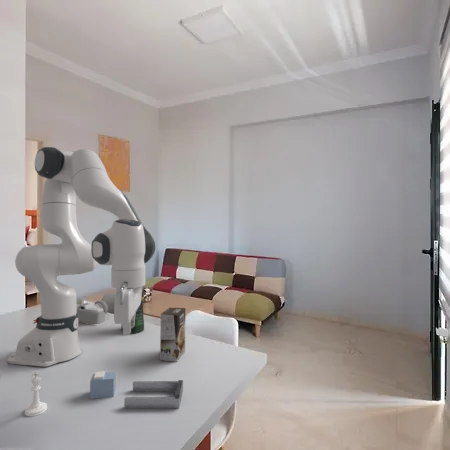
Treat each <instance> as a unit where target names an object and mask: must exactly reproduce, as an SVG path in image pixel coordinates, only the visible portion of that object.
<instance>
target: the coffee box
mask: <svg viewBox="0 0 450 450" xmlns="http://www.w3.org/2000/svg"><path fill="white" fill-rule="evenodd" d="M159 337H160V338H159V339H160V340H159V341H160V347H159V348H160V349H159V357H160V358H159V359H160V361H166V362H175V363H176V362H178V361H179V359H180V358H181V357H182V356H183V354H185V352H186V308H185V307H168V308H167V309H166V310H164V311H163V312H161V313H160V336H159Z"/></svg>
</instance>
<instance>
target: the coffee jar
mask: <svg viewBox="0 0 450 450" xmlns="http://www.w3.org/2000/svg"><path fill="white" fill-rule="evenodd" d="M144 300H145V291H144V290H143V289H142V298H141V303H140V306H139V307H138V309H137V311H136V314H135V325H134V327H133V328H131V333H130V335H133V334H139V333H142V332H143V331H144V330H145V318H144ZM120 329H121V332H123V328H122V324H121V327H120Z"/></svg>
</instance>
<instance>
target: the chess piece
mask: <svg viewBox="0 0 450 450" xmlns="http://www.w3.org/2000/svg"><path fill="white" fill-rule="evenodd" d="M31 376H32V377H33V378H31V380H30V381H31V383H32V387H31V389H30V391H31V392H33V394H32V395H33V396H32V403H31V404H29V405H28V406H26V408H25V409H24V415H25V416H27V417H35V416H39V415H42V414H43V413H45V411H47V409H48V404H47V403H46V402H43V401H40V393H39V391H40V389H41V388H42V386H41V385H40V382H41V373H40V372H38V370H35V371H34V372H33V373H32V374H31Z"/></svg>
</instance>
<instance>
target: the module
mask: <svg viewBox="0 0 450 450" xmlns="http://www.w3.org/2000/svg"><path fill="white" fill-rule="evenodd" d="M116 375H117V374H116V371H109V372H108V371H107V372H106V371H105V370H104V371H103V370H102V371H96V372H95V373H92V376H91V378H90V380H89V384H90V385H89V386H90V387H89V391H90V392H89V399H103V398H112V397H114V396H115V392H116V388H117V387H116V386H117V384H116V383H117V382H116V379H117V377H116Z"/></svg>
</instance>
